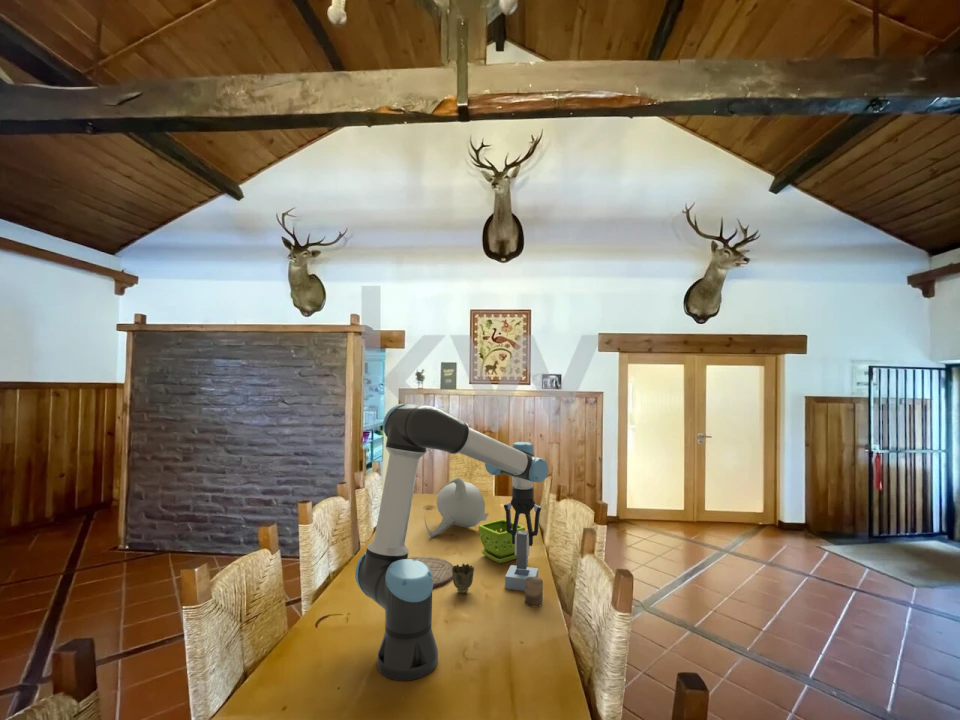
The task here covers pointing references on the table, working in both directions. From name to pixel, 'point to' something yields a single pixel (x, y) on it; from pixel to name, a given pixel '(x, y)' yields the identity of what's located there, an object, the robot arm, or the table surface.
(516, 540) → the robot arm
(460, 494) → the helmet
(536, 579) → the brown short cylinder
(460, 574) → the ornate candle holder
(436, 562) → the trivet
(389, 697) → the table surface
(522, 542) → the square bit
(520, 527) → the flower pot
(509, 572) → the bore block
